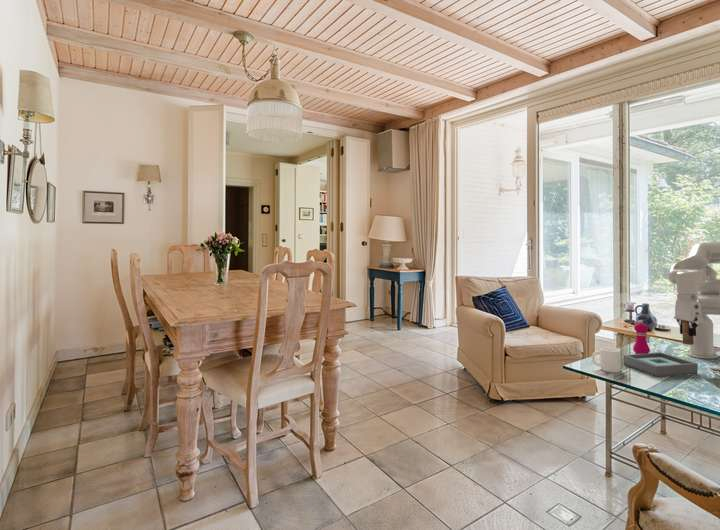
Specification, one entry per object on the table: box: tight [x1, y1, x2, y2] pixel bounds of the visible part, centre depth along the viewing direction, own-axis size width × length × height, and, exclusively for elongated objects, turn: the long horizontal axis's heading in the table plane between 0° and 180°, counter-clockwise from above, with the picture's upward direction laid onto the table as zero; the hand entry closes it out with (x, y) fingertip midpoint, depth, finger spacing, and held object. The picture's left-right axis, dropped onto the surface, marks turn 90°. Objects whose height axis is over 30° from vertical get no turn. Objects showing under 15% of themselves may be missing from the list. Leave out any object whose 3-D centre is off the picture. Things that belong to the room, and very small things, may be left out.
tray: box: [623, 351, 699, 378], centre depth 190 cm, size 20×20×5 cm
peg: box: [682, 320, 694, 346], centre depth 191 cm, size 4×4×12 cm
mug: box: [591, 346, 622, 374], centre depth 193 cm, size 12×8×10 cm
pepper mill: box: [632, 319, 651, 354], centre depth 209 cm, size 7×7×20 cm
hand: (687, 334), depth 191 cm, fingers closed on peg, 4 cm apart
